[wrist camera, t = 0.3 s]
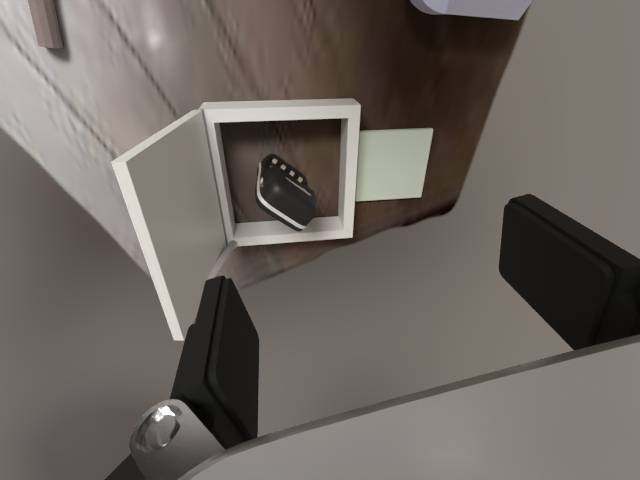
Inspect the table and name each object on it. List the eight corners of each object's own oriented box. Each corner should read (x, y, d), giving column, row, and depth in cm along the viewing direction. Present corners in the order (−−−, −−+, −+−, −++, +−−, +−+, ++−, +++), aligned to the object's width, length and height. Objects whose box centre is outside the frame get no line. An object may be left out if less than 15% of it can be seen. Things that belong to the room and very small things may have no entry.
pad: (358, 130, 44) (360, 132, 43) (431, 127, 45) (433, 129, 45) (354, 199, 49) (355, 201, 49) (419, 195, 51) (421, 197, 50)
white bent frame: (174, 103, 39) (110, 162, 23) (353, 98, 42) (411, 148, 25) (203, 233, 49) (173, 341, 33) (346, 223, 51) (385, 318, 35)
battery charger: (313, 175, 46) (325, 214, 37) (296, 195, 48) (304, 238, 38) (271, 144, 43) (274, 178, 34) (254, 166, 45) (252, 205, 35)
